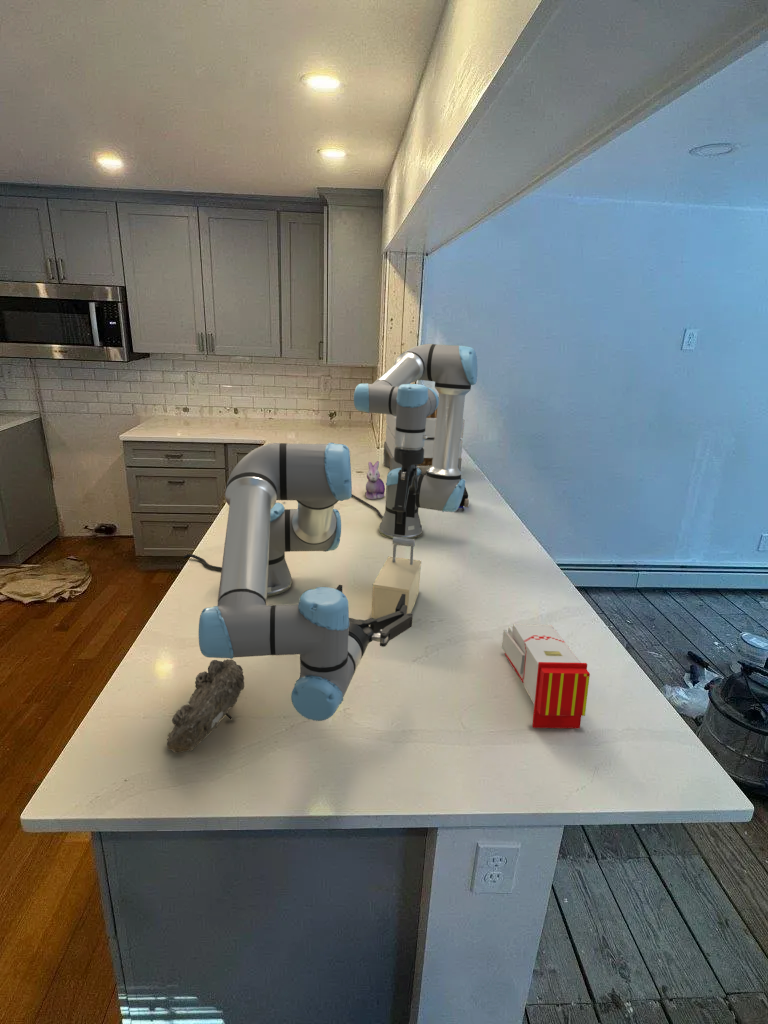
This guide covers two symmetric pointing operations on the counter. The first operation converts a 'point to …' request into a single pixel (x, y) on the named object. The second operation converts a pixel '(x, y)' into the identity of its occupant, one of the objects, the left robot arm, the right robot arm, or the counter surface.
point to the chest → (393, 599)
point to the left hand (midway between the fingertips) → (371, 595)
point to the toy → (548, 674)
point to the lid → (398, 569)
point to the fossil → (206, 705)
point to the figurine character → (464, 500)
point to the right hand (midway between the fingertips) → (404, 525)
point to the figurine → (374, 483)
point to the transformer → (428, 447)
